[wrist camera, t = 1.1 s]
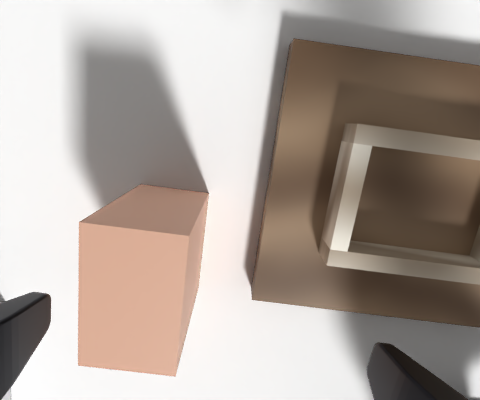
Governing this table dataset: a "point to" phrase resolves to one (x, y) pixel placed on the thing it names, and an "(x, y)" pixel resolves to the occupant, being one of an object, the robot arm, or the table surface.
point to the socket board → (374, 186)
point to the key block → (139, 279)
